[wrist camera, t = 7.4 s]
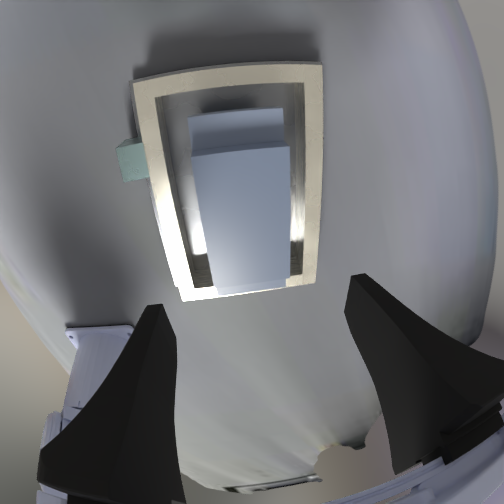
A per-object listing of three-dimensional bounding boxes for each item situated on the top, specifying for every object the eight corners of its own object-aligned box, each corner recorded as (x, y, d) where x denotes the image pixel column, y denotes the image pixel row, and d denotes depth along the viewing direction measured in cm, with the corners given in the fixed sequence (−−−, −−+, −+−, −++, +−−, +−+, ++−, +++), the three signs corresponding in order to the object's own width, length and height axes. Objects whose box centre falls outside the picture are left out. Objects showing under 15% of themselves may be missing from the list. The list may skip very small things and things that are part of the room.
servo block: (271, 244, 21) (289, 298, 16) (215, 251, 20) (218, 308, 16) (264, 98, 15) (288, 111, 10) (193, 106, 14) (185, 121, 10)
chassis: (314, 262, 23) (324, 283, 21) (166, 282, 22) (163, 305, 20) (318, 61, 14) (335, 61, 12) (118, 84, 13) (104, 86, 11)
